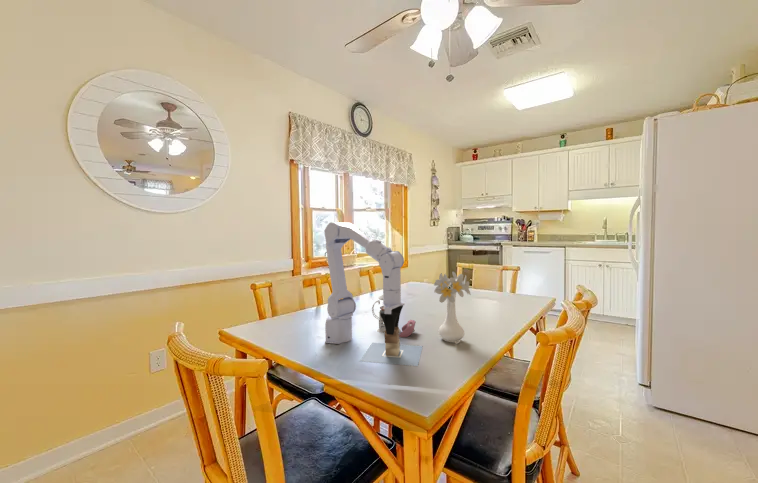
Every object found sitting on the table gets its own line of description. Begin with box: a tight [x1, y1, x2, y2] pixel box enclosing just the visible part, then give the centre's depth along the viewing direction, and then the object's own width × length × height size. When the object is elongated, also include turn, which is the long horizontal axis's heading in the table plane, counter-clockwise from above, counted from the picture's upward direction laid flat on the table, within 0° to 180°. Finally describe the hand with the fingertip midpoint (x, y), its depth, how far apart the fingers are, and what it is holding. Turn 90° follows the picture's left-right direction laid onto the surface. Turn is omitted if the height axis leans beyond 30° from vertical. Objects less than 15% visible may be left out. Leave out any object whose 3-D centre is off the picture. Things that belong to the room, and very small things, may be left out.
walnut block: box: [384, 326, 400, 344], centre depth 101 cm, size 4×4×4 cm
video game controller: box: [399, 319, 416, 338], centre depth 121 cm, size 10×5×7 cm, turn 169°
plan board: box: [359, 342, 424, 367], centre depth 102 cm, size 18×16×1 cm
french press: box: [371, 294, 402, 334], centre depth 126 cm, size 10×12×25 cm
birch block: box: [384, 338, 401, 356], centre depth 101 cm, size 4×4×4 cm
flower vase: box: [433, 271, 472, 345], centre depth 112 cm, size 13×18×25 cm
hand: (392, 330), depth 101 cm, fingers open, 7 cm apart
